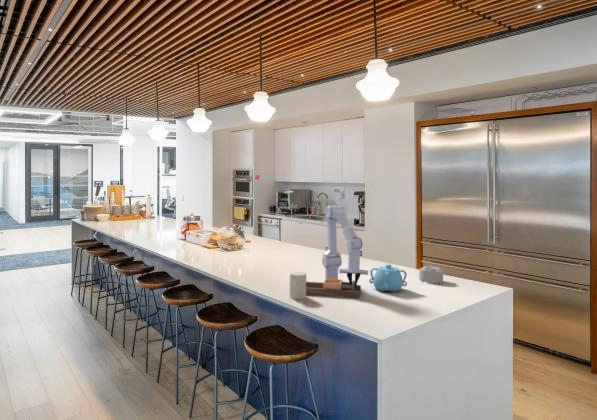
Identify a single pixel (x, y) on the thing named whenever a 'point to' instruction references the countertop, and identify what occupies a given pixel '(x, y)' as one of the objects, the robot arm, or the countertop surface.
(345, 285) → the drawer
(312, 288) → the bay
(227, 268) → the countertop surface
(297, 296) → the cup
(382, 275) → the decorative pot
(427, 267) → the lumpy-topped squat cylinder
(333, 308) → the countertop surface
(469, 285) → the countertop surface
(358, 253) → the robot arm
